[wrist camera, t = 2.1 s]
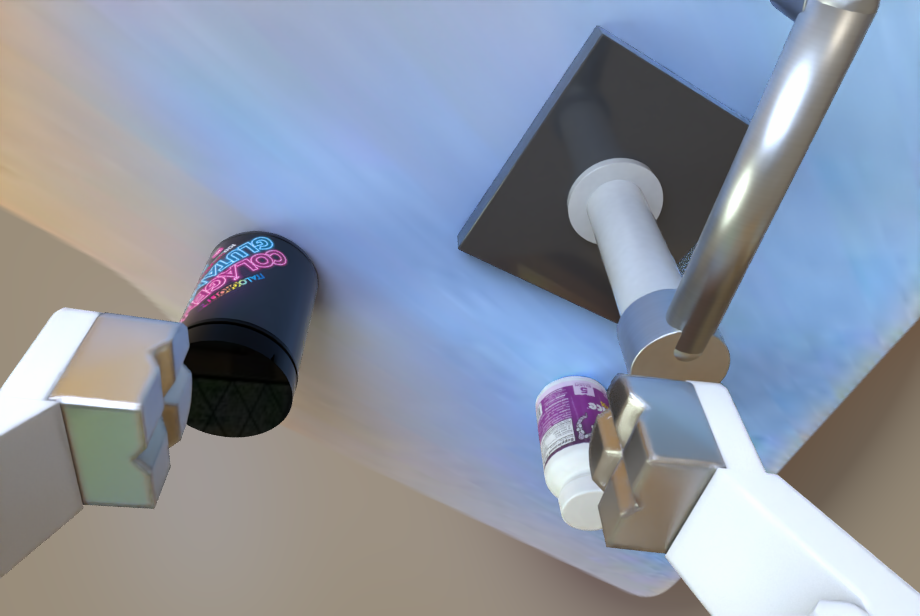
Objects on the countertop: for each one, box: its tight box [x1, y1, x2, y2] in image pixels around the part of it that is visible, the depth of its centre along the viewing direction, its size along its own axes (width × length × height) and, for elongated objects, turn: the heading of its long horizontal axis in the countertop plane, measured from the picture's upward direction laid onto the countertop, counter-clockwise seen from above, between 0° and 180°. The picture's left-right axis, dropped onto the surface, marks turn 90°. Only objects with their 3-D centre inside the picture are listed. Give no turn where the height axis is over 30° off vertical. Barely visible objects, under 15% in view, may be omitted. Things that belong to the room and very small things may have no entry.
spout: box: [617, 0, 880, 383], centre depth 26 cm, size 17×4×4 cm, turn 170°
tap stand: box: [458, 26, 751, 324], centre depth 36 cm, size 14×12×12 cm
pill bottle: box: [536, 376, 610, 531], centre depth 47 cm, size 5×5×10 cm
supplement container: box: [179, 231, 318, 437], centre depth 40 cm, size 7×7×10 cm
